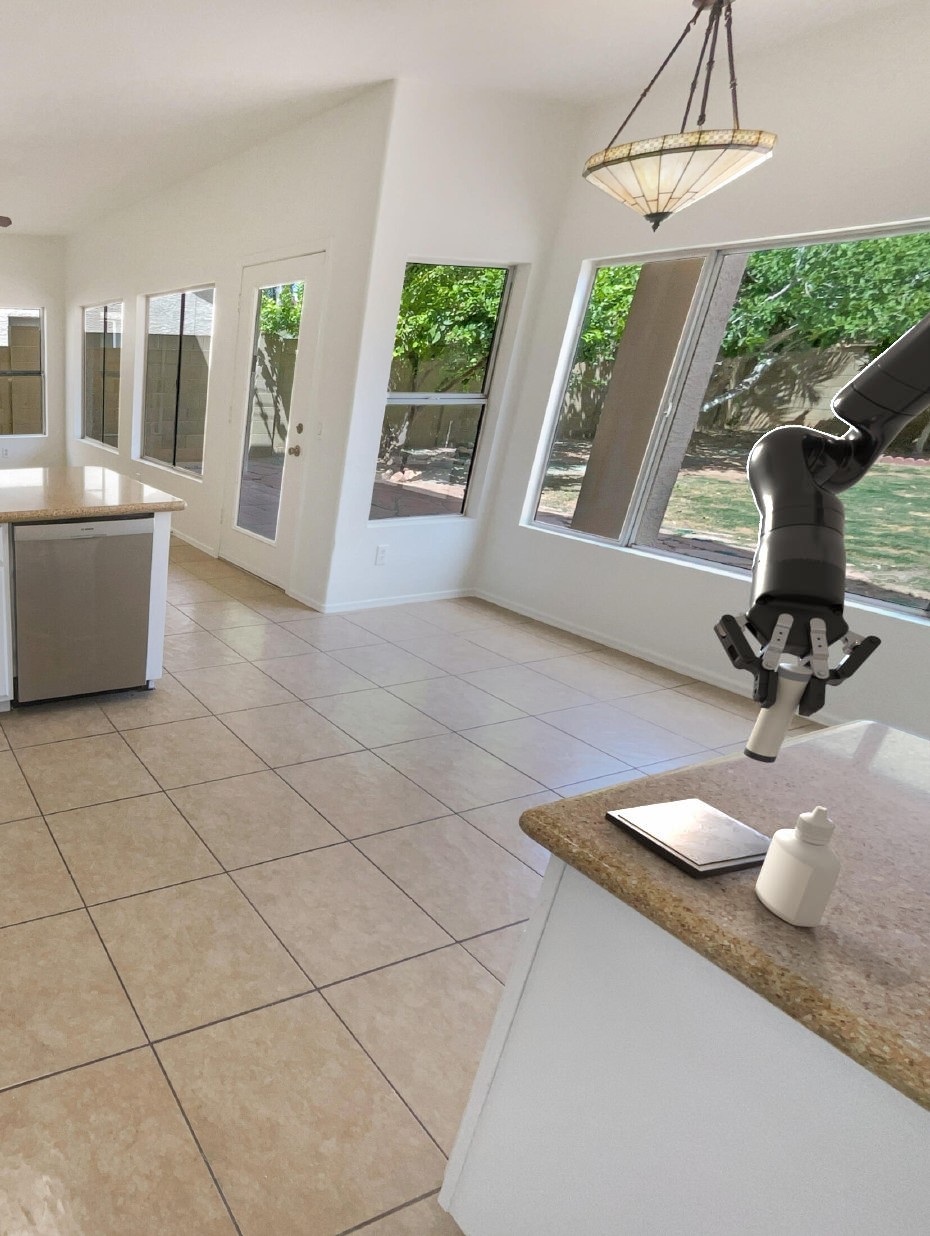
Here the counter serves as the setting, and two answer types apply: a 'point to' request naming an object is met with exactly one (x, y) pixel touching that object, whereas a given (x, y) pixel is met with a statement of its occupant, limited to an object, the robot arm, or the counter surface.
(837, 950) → the counter surface
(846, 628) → the robot arm
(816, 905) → the eye dropper bottle
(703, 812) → the tablet
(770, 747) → the stylus
